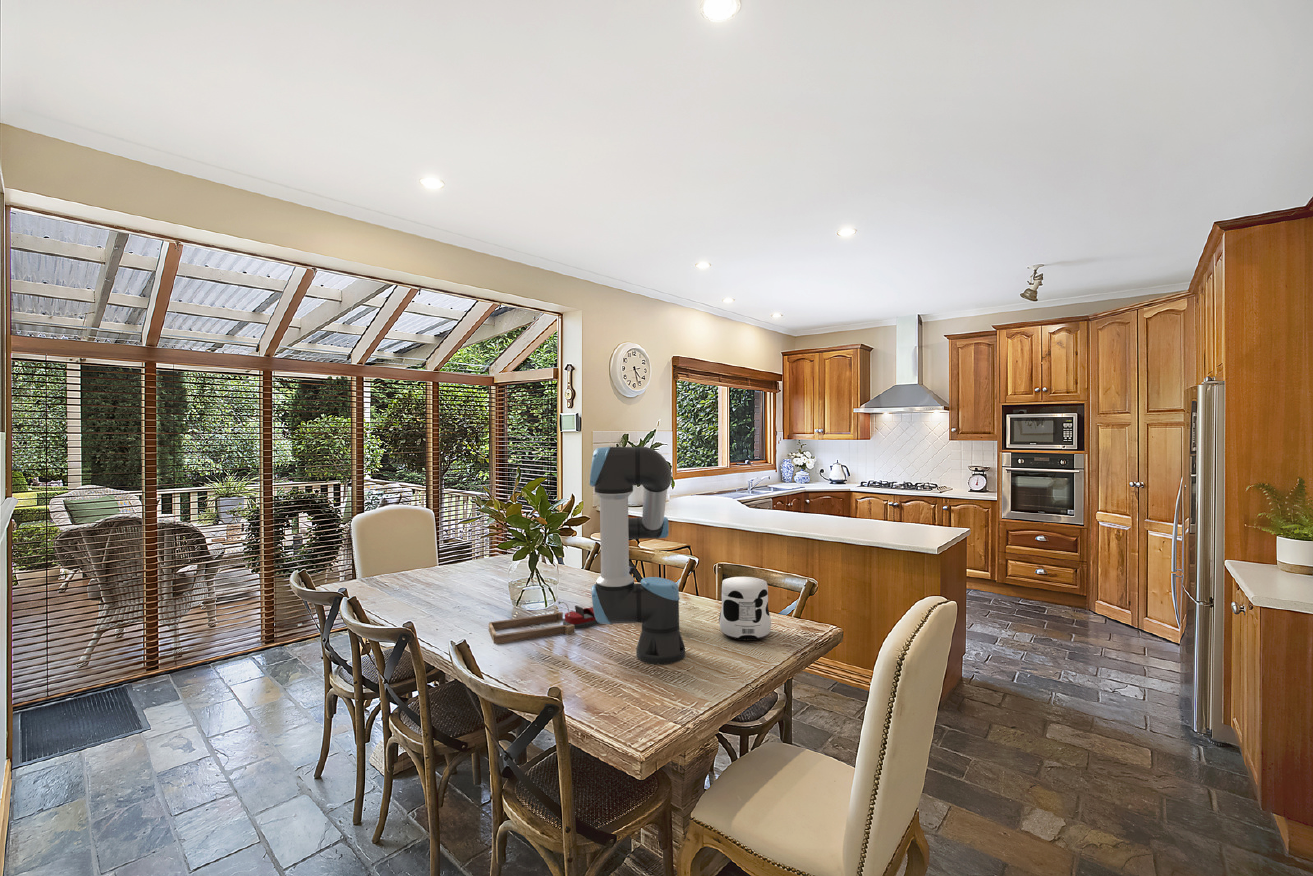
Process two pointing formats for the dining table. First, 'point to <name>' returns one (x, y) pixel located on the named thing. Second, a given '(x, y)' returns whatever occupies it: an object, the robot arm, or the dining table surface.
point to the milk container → (745, 608)
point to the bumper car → (580, 617)
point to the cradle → (529, 633)
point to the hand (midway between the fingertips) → (617, 613)
